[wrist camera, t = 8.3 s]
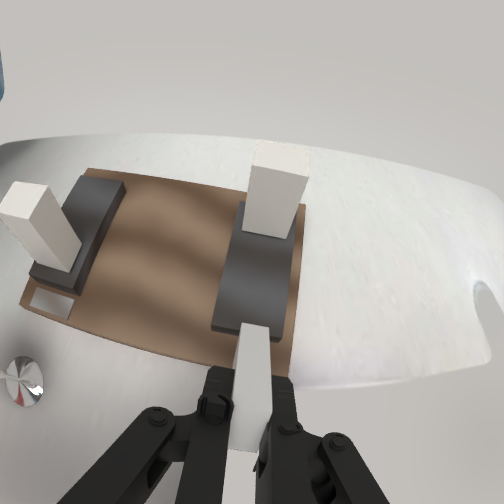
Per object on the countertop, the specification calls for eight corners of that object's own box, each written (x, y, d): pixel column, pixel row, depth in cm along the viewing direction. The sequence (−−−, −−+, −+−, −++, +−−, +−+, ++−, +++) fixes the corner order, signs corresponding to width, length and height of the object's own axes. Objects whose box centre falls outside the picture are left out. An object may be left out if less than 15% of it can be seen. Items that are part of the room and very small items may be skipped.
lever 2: (285, 239, 27) (309, 177, 20) (241, 230, 27) (251, 165, 20) (288, 213, 29) (310, 150, 22) (247, 204, 29) (258, 138, 22)
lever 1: (69, 272, 23) (28, 219, 16) (37, 263, 23) (-5, 211, 16) (82, 244, 25) (48, 185, 18) (50, 236, 25) (14, 181, 18)
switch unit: (284, 379, 24) (293, 374, 22) (24, 308, 24) (9, 296, 21) (303, 211, 33) (310, 193, 31) (90, 174, 33) (84, 157, 30)
